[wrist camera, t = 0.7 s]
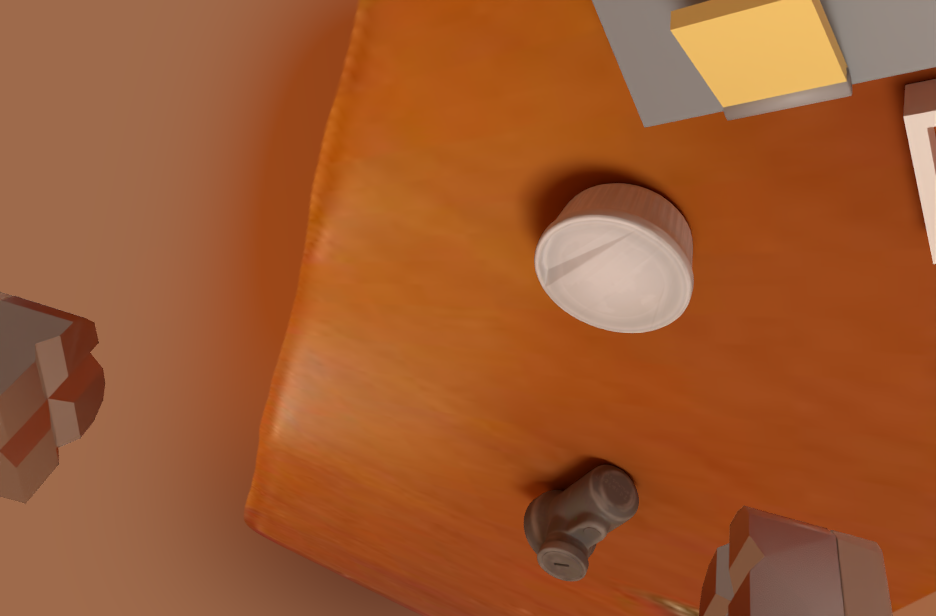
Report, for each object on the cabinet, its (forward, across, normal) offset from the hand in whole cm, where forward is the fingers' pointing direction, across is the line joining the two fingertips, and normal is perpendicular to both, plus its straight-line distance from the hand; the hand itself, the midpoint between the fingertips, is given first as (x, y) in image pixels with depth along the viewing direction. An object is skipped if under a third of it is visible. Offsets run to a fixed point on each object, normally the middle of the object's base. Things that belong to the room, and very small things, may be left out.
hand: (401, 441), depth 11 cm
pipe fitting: (+56, -10, +61) cm, 84 cm away
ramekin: (+49, -5, +26) cm, 55 cm away
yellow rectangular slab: (+36, -8, +6) cm, 37 cm away
